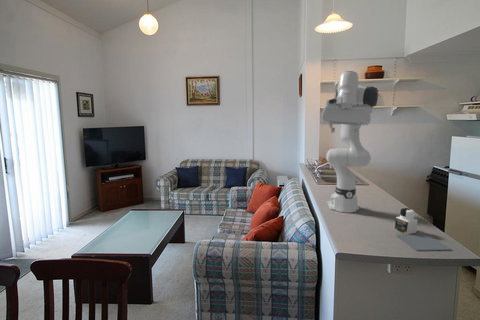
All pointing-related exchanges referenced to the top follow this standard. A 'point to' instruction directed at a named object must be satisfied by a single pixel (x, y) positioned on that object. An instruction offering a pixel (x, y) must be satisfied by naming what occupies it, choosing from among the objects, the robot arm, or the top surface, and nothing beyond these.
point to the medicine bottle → (406, 222)
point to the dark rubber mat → (422, 242)
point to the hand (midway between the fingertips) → (344, 132)
